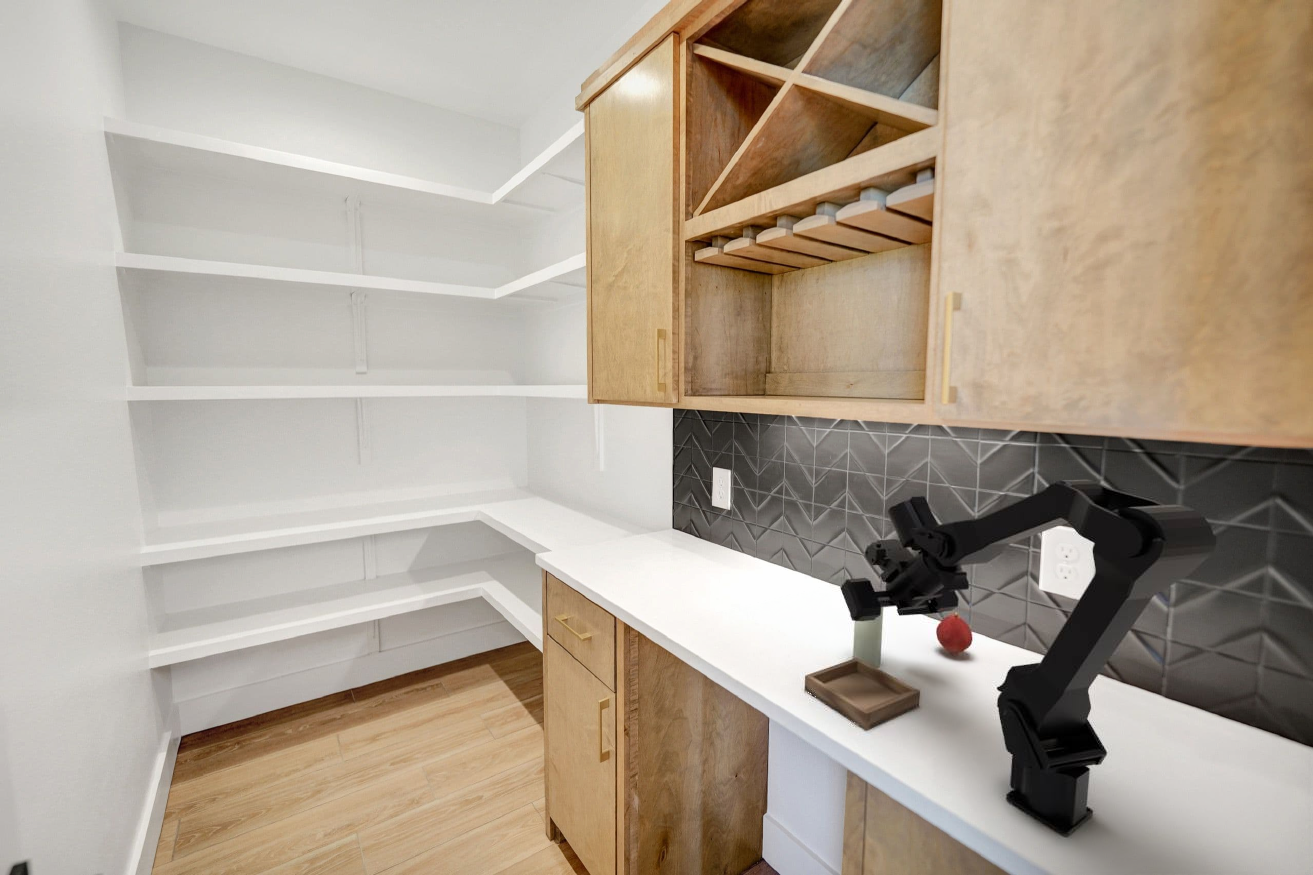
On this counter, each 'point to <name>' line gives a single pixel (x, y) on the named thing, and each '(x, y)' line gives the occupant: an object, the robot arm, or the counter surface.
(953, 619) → the onion
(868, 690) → the walnut tray
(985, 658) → the counter surface
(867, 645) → the spice jar
